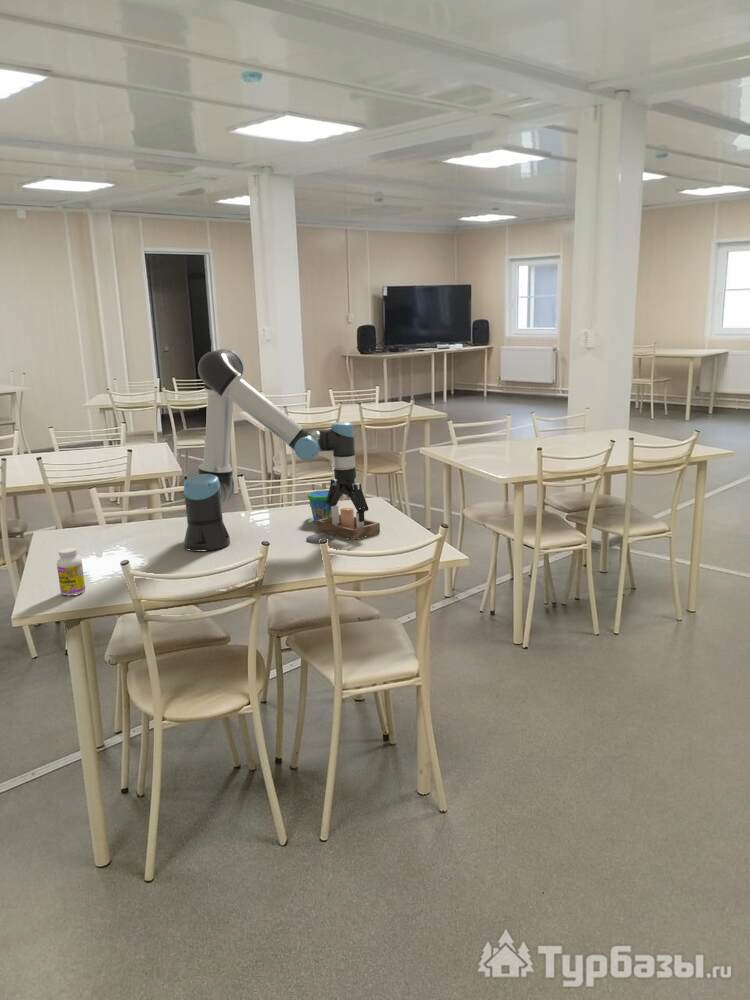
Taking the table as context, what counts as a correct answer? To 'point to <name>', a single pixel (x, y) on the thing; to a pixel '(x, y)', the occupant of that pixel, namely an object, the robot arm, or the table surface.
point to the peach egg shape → (347, 517)
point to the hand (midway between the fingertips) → (347, 527)
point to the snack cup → (319, 504)
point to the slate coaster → (319, 537)
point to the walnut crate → (345, 532)
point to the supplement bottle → (70, 572)
